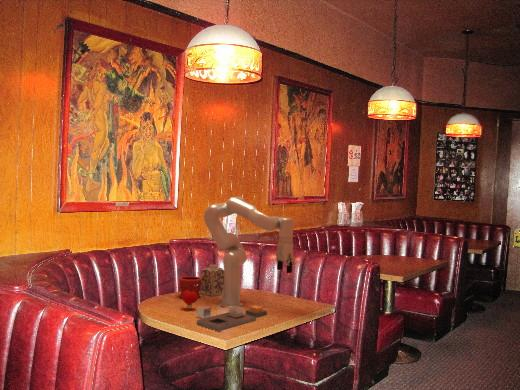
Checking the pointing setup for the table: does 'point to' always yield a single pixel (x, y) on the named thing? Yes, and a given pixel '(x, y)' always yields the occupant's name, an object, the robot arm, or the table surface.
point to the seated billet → (236, 312)
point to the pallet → (224, 321)
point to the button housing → (256, 313)
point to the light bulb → (189, 298)
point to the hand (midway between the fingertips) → (284, 271)
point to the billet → (203, 312)
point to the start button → (256, 308)
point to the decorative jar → (212, 281)
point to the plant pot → (190, 284)
